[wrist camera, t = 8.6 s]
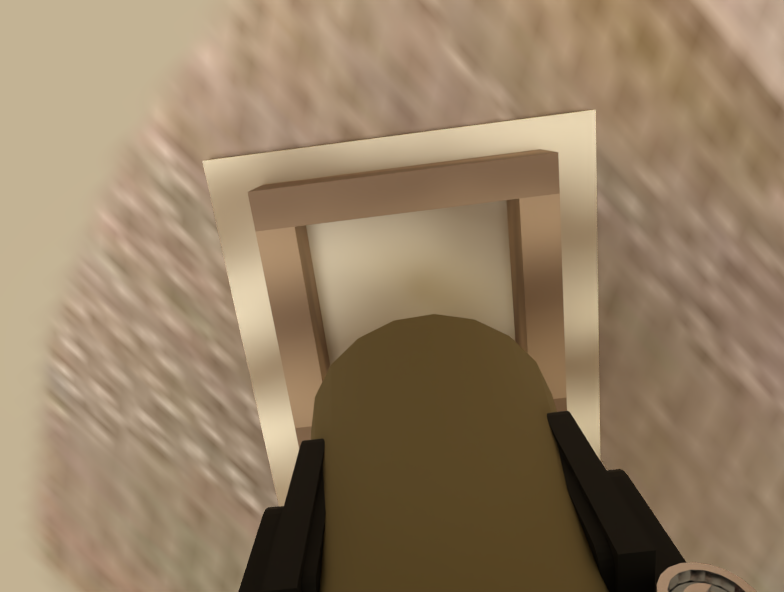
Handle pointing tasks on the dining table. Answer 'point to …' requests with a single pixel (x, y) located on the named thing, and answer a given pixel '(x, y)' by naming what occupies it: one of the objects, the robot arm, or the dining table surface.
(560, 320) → the socket stand
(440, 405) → the cork
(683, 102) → the dining table surface
